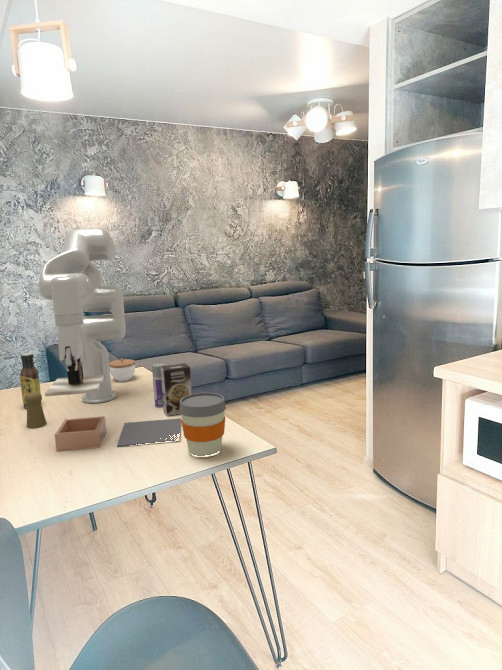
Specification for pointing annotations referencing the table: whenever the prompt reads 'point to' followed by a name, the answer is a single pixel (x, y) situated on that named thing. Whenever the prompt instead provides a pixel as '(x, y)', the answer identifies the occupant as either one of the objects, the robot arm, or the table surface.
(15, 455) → the table surface
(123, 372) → the lidded jar
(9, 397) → the table surface
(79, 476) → the table surface
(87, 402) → the robot arm
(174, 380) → the coffee box
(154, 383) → the container
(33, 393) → the cork
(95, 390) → the lid
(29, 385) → the sauce bottle
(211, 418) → the reusable coffee cup
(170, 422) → the mat
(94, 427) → the dish
